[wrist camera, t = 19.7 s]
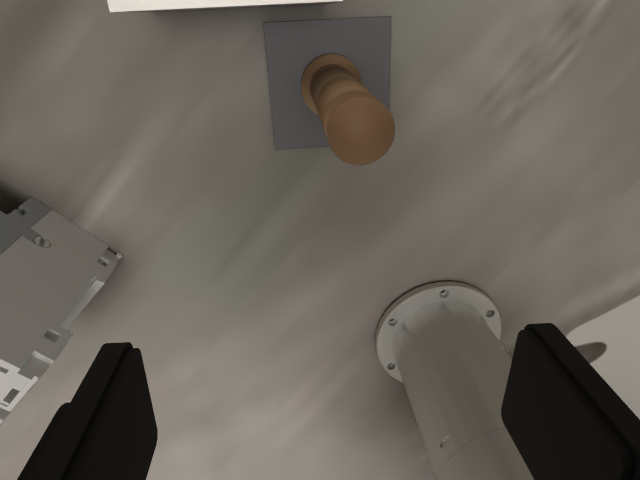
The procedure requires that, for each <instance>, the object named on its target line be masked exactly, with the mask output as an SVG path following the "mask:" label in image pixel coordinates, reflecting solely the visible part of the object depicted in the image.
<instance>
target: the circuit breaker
mask: <svg viewBox="0 0 640 480" xmlns="http://www.w3.org/2000/svg"><path fill="white" fill-rule="evenodd" d="M50 210H51V208H49V207H48V206H46V205H45V204H43V203H41V202H40V201H38V200H37V199H35V198H34V197H31V198H29V199H28V200H27V201H25V202H24V203H23V204H21V205H20V206H19V208H18V209H17V210H16V209H15V210H13V211H12V212H11V213H9V214H5V213H3V212H2V211H0V424H1V423H2V422H3V420H4V419H5V418H6V417H7V416H8V415H9V414H10V413H11V411H12V410H13V409H14V408H15V407H16V406H17V404H18V403H19V402H20V401H21V400H22V398H23V397H24V396H25V395H26V394H27V393H28V391H29V390H30V389H31V388H32V387H33V386H34V384H35V383H36V382H37V381H38V380H39V378H40V377H41V376H42V375H43V374H44V373H45V371H46V370H47V369H48V368H49V366H50V365H51V364H52V363H53V362H54V361H55V360H56V359H57V357H58V356H59V355H60V353H61V352H62V350H63V348H64V347H65V345H66V344H67V342H68V341H69V339H70V337H71V336H72V334H73V333H71V332H70V331H68V330H66V329H67V328H68V327H69V325H70V324H71V323H72V322H73V321H74V319H75V318H76V317H77V316H78V315H79V314H80V312H81V311H82V310H83V309H84V308H85V306H86V305H87V304H88V303H89V302H90V300H91V299H92V298H93V297H94V296H95V294H96V293H97V292H98V291H99V290H100V288H101V287H102V286H103V285H104V284H105V282H106V281H107V279H108V277H109V276H110V274H111V273H112V271H113V270H114V268H115V266H116V265H117V262H118V261H119V259H120V258H121V257H122V254H121V253H119V252H118V253H117V254H116V255H115V254H114V253H112V252H111V251H109V250H107V248H108V247H109V246H108V245H107V244H105V243H104V242H102V241H101V240H99V239H98V238H96V237H94V236H93V235H91V234H90V233H88V232H87V231H85V230H84V229H82V228H80V227H79V226H77V225H76V224H74V223H73V222H71V221H69V220H68V219H66V218H65V217H63V216H62V215H60V214H59V213H57V212H55V211H54V210H51V211H50Z"/></svg>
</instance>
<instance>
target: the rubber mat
mask: <svg viewBox="0 0 640 480" xmlns="http://www.w3.org/2000/svg"><path fill="white" fill-rule="evenodd" d="M264 35H265V46H266V57H267V68H268V79H269V90H270V101H271V112H272V124H273V135H274V146H275V150H279V149H294V148H309V147H324V146H330V145H329V142H328V139H327V137H326V134H325V131H324V129H323V126H322V123H321V121H320V118H319V115H317V114H315V113H314V112H313V111H312V110H311V109H310V108H309V107H308V106H307V105H306V103H305V101H304V98H303V95H302V91H301V79H302V75H303V72H304V70H305V68H306V67H307V65H308V64H309V63H310V62H311V61H312V60H313V59H315V58H316V57H318V56H320V55H323V54H329V53H334V54H339V55H342V56H344V57H345V58H347V59H348V60H350V61H351V62H352V63H353V64H354V65H355V66H356V68H357V69H358V71H359V73H360V76H361V81H362V85H363V86H364V87H365V88H366V89H367V90H368V91H370V92H371V93H372V94H373V95H374V96H375V97H376V98H377V99H378V100H379V101H380V102H381V103H382V104H383V105H384V106H385V107H386V108H387V109H388V110H389V82H390V41H391V16H387V17H367V18H347V19H327V20H307V21H287V22H267V23H264Z"/></svg>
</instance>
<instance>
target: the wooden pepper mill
mask: <svg viewBox="0 0 640 480" xmlns="http://www.w3.org/2000/svg"><path fill="white" fill-rule="evenodd" d="M301 91H302V95H303V98H304V101H305V103H306V105H307V106H308V107H309V108H310V109H311V110H312V111H313V112H314V113H315V114H317V115H319V118H320V121H321V123H322V126H323V129H324V131H325V134H326V137H327V139H328V142H329V145H330V147H331V149H332V151H333V152H334V154H335V155H336V156H337V157H338V158H339V159H341V160H342V161H344V162H346V163H348V164H352V165H366V164H370V163H372V162H375V161H376V160H378V159H380V158H381V157H382V156H383V155H384V154H385V153H386V152H387V151H388V149H389V148H390V146H391V144H392V141H393V138H394V132H395V126H394V121H393V118H392V115H391V113H390V112H389V110H388V109H387V108H386V107H385V106H384V105H383V104H382V103H381V102H380V101H379V100H378V99H377V98H376V97H375V96H374V95H373V94H372V93H371V92H370V91H368V90H367V89H366V88H365V87H364V86H363V85H362V81H361V76H360V73H359V71H358V69H357V68H356V66H355V65H354V64H353V63H352V62H351V61H350V60H348V59H347V58H345V57H344V56H342V55H339V54H334V53H329V54H323V55H320V56H318V57H316V58H315V59H313V60H312V61H311V62H310V63H309V64H308V65H307V67H306V68H305V70H304V72H303V75H302V79H301Z"/></svg>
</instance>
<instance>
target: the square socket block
mask: <svg viewBox="0 0 640 480" xmlns="http://www.w3.org/2000/svg"><path fill="white" fill-rule="evenodd" d="M340 1H343V0H107V2H108V6H109V10H110V12H163V11H184V10H205V9H226V8H247V7H267V6H288V5H309V4H328V3H334V2H340Z"/></svg>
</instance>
